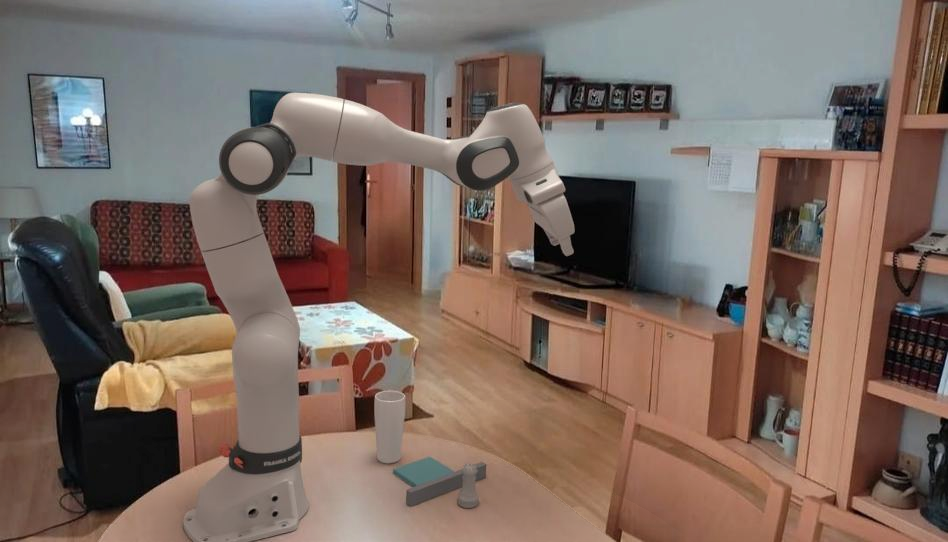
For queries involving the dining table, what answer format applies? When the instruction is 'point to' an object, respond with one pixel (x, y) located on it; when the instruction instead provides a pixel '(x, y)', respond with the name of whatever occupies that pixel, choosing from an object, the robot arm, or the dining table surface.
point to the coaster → (421, 471)
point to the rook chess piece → (468, 487)
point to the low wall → (440, 485)
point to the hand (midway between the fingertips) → (562, 249)
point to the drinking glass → (389, 425)
